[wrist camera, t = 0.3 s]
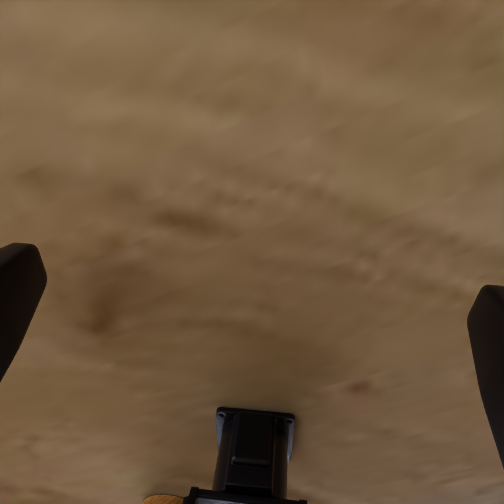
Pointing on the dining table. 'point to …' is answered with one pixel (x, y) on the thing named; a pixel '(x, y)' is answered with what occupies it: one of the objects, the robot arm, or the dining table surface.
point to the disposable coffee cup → (163, 499)
